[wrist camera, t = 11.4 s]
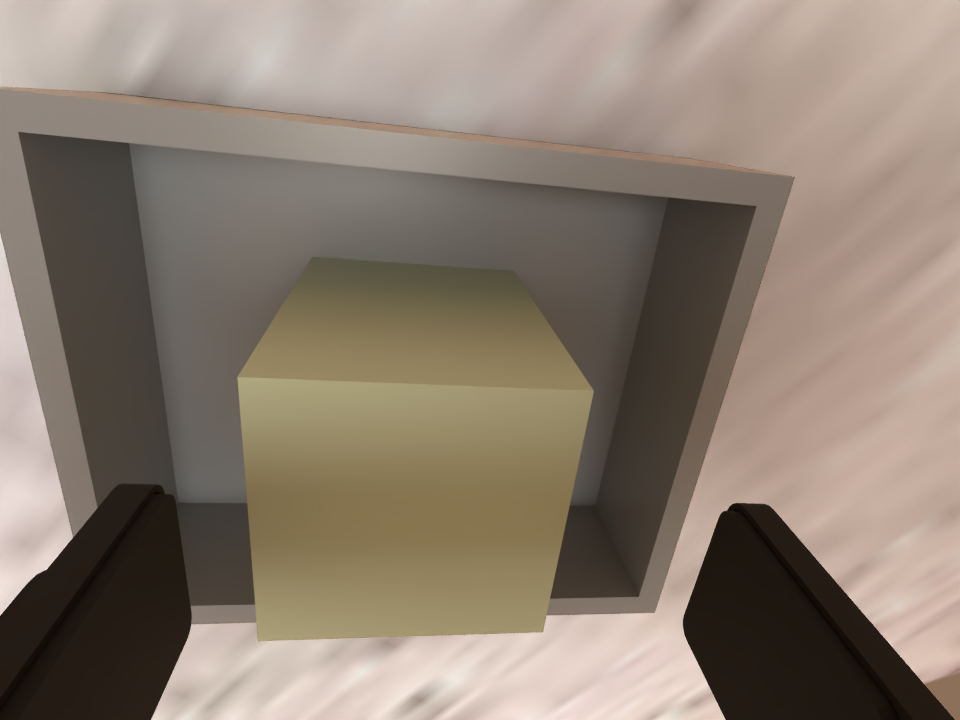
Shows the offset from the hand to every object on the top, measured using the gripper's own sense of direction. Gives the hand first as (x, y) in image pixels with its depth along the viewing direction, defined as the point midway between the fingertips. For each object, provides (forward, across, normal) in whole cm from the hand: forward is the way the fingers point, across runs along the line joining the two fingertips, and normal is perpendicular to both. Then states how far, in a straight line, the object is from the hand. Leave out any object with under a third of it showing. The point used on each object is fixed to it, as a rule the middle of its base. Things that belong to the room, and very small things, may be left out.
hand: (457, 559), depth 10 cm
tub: (+10, +1, 0) cm, 10 cm away
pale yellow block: (+9, +1, 0) cm, 9 cm away
